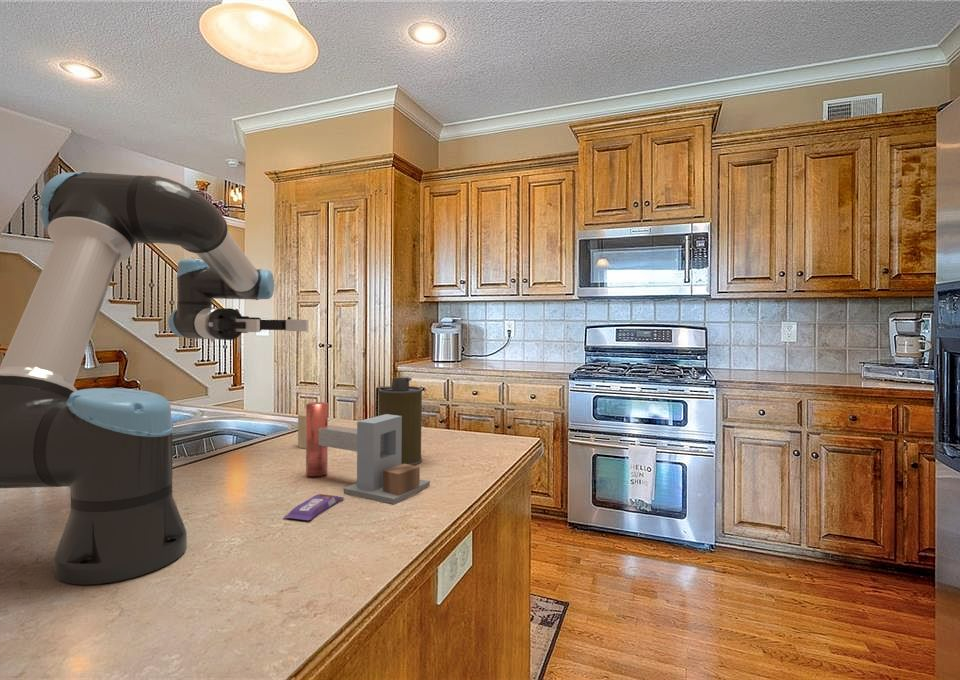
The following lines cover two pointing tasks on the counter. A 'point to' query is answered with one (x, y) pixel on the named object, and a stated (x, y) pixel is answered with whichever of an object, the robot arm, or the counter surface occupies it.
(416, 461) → the canister
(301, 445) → the candle
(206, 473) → the counter surface
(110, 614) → the counter surface
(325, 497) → the snack package
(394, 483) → the bar
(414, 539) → the counter surface
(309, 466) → the shaft
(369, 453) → the grey holder stand
